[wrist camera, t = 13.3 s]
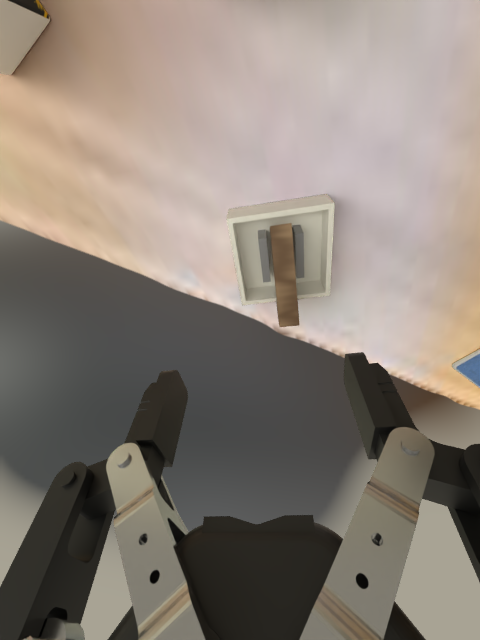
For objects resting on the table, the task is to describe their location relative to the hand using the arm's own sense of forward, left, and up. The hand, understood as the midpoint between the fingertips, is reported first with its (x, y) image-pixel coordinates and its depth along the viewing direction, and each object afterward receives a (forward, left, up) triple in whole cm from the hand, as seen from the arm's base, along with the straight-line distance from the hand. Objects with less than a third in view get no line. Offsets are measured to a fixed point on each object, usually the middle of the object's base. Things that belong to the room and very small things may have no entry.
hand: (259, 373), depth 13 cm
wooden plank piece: (-3, +12, -20) cm, 23 cm away
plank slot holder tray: (-3, +5, -27) cm, 27 cm away
